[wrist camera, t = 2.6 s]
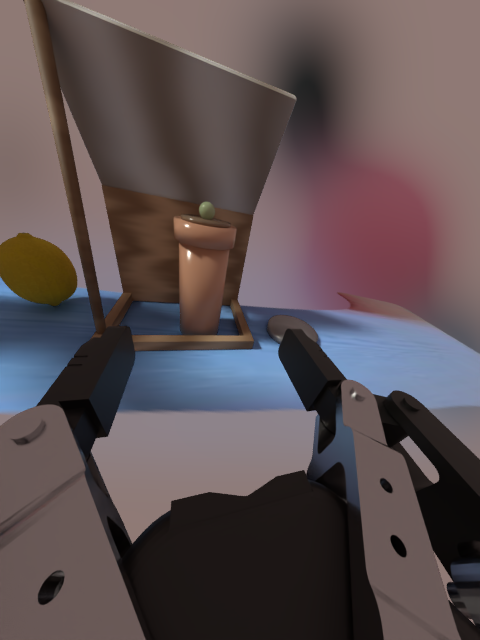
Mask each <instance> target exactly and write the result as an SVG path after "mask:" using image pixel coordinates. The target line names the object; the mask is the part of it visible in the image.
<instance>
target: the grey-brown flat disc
mask: <svg viewBox="0 0 480 640" xmlns="http://www.w3.org/2000/svg"><path fill="white" fill-rule="evenodd" d="M287 329H302V330H303V331H304V332H305V334H306V335H307V336H308V337H309V338H311V339H312V340H313V341H315V342H317V340H318V335H317V333H316V331H315V330H314V329H313V328H312V327H311V326H310V325H309V324H307V323H306V322H304V321H302V320H300V319H298V318H295V317H292V316H287V315H277V316H273V317H272V318H270V319H269V322H268V325H267V331H268V333H269V335H270V336H271V337H272V338H273V339H274V340H275V341H276V342H278V343H279V344H281V341H282V339H283V336H284V334H285V331H286V330H287Z"/></svg>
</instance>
